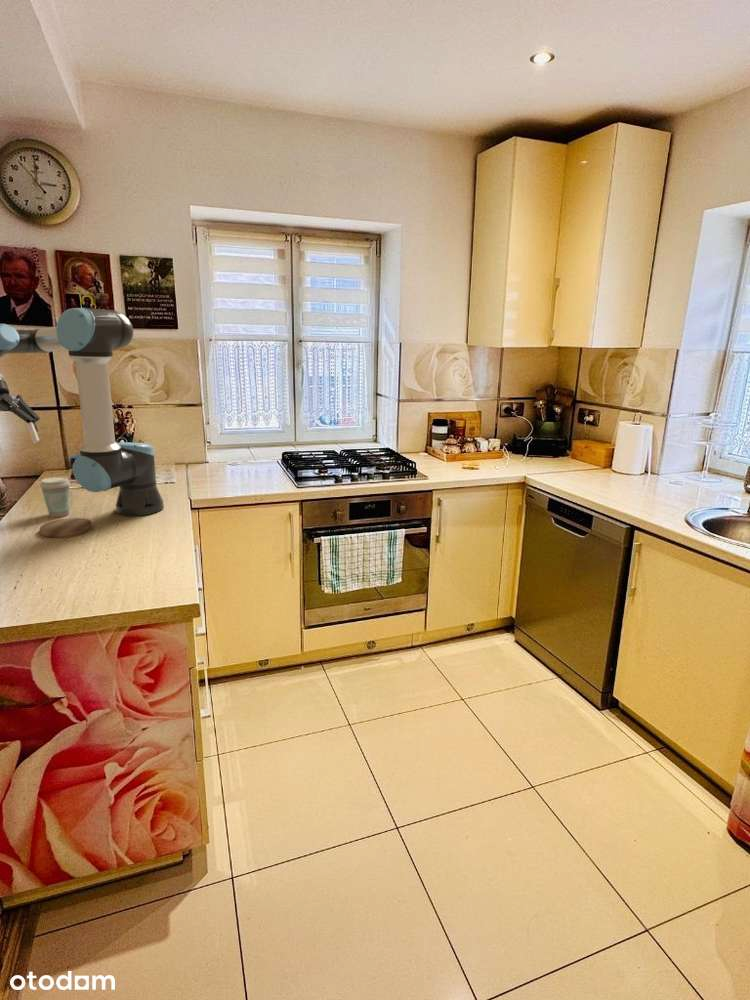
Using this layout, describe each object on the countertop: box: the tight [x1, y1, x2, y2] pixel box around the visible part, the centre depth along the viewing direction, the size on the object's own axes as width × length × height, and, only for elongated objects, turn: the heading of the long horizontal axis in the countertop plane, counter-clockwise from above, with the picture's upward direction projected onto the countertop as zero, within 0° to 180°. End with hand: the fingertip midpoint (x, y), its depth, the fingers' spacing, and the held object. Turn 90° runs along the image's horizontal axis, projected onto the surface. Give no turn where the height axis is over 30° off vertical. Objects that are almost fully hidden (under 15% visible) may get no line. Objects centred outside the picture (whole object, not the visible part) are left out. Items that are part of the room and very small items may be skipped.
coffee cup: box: [40, 476, 71, 518], centre depth 182 cm, size 9×9×12 cm
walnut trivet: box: [39, 517, 93, 539], centre depth 169 cm, size 14×14×2 cm
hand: (15, 444), depth 181 cm, fingers open, 13 cm apart
